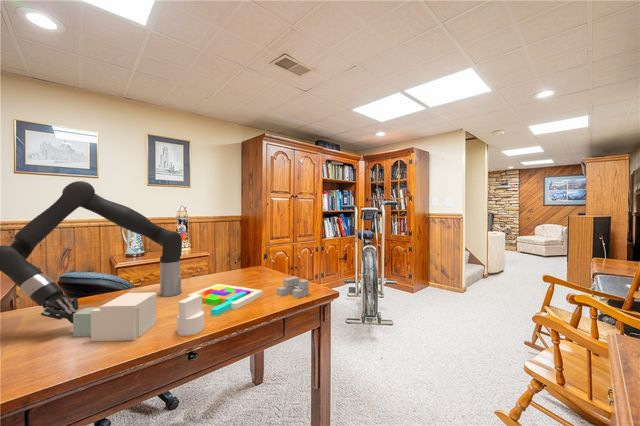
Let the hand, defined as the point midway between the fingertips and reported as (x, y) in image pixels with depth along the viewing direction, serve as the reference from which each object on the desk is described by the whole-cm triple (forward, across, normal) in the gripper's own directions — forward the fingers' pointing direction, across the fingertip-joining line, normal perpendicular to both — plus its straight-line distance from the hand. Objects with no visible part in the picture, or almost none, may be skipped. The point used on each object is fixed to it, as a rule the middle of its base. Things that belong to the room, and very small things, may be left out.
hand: (78, 322), depth 97 cm
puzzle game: (+32, +31, -26) cm, 52 cm away
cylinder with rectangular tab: (+31, 0, -25) cm, 40 cm away
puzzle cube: (+57, +37, -52) cm, 85 cm away
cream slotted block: (+14, 0, -9) cm, 17 cm away
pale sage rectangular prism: (+7, 0, -2) cm, 8 cm away
